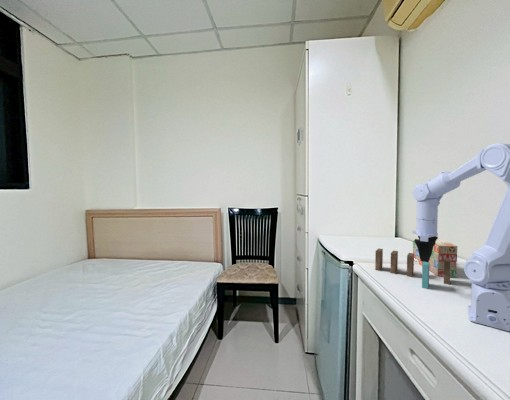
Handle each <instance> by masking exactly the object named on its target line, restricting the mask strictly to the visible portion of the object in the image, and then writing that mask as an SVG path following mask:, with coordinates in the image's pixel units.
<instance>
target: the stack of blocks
mask: <svg viewBox="0 0 510 400" xmlns="http://www.w3.org/2000/svg"><path fill="white" fill-rule="evenodd" d="M412 253H414V258H415V259H417V260H418V262H419V264H418V265H420V266H421V267H422V264H423V261H421V260H420V256H419V251H418V248H417V246H416V244H415V242H414V240H412ZM445 258H450V278H457V262H458V245H455V244H452V242H449V241H446V240H443V239H440V238H438V239H437V240H436V243H435V245H434V246H433V251H432V255H431V257H430V259H429V262H430V264H429V273H432V274H433V275H434V276H436V277H439V278H444V260H445Z"/></svg>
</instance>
